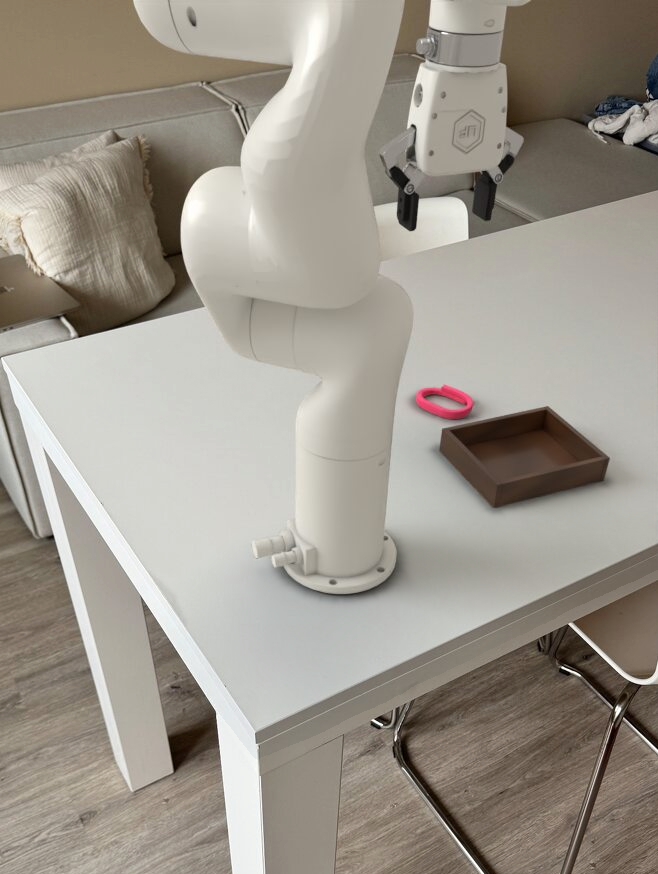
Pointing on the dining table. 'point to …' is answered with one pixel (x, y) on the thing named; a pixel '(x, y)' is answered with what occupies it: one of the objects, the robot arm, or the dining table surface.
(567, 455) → the walnut tray
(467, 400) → the fitness band
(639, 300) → the dining table surface
